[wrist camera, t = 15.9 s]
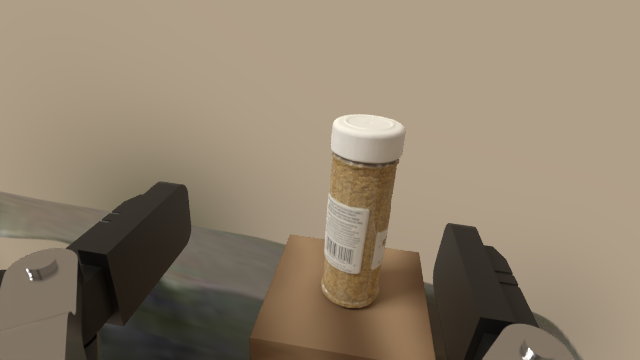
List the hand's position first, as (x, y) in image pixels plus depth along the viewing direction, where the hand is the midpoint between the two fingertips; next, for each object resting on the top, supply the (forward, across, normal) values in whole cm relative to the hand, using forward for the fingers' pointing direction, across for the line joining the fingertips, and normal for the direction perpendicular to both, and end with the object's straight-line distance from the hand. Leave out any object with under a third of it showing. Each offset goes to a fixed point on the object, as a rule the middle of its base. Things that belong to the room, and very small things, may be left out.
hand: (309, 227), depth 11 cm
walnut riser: (+12, -2, +21) cm, 24 cm away
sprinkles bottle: (+12, -2, +14) cm, 19 cm away
